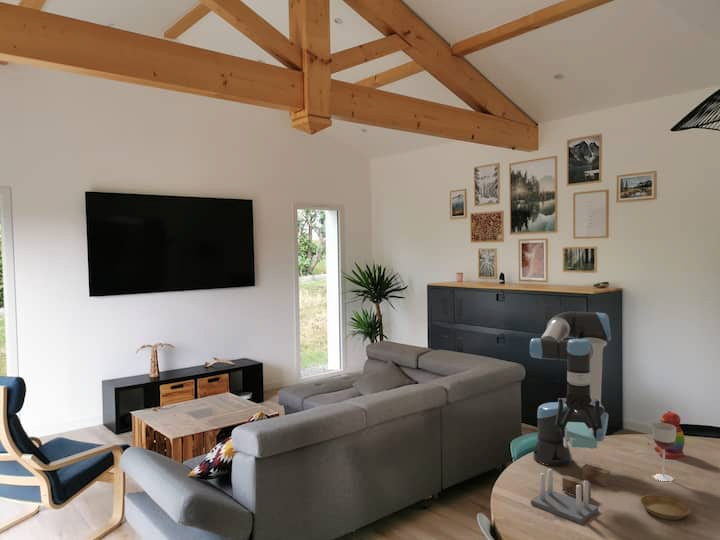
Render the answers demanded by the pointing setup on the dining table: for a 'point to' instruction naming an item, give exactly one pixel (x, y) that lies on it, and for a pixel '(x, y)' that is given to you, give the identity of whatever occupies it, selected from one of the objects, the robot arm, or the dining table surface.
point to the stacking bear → (679, 441)
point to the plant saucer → (665, 506)
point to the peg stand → (564, 501)
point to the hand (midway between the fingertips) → (578, 446)
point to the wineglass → (664, 443)
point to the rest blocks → (590, 475)
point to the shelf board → (580, 435)
